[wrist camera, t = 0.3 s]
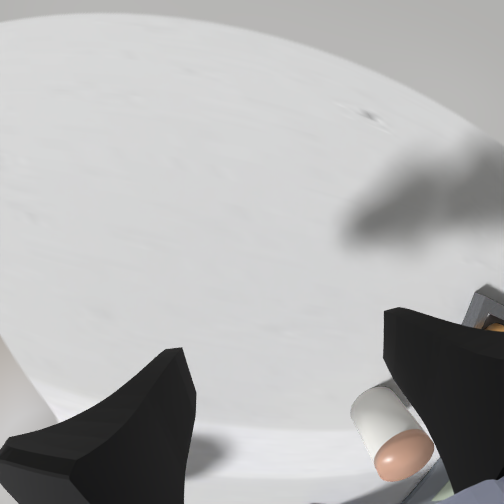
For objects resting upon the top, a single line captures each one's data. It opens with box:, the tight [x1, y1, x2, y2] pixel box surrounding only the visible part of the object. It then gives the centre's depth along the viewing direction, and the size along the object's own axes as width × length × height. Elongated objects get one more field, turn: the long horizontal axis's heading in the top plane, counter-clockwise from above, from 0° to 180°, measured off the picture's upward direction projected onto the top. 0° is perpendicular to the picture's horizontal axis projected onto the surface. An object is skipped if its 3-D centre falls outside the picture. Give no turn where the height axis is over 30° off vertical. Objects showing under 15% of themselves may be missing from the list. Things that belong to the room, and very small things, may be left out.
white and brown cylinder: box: [350, 386, 434, 482], centre depth 19 cm, size 4×4×7 cm
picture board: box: [401, 457, 454, 504], centre depth 23 cm, size 20×14×1 cm
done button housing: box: [462, 292, 504, 329], centre depth 21 cm, size 7×7×2 cm
